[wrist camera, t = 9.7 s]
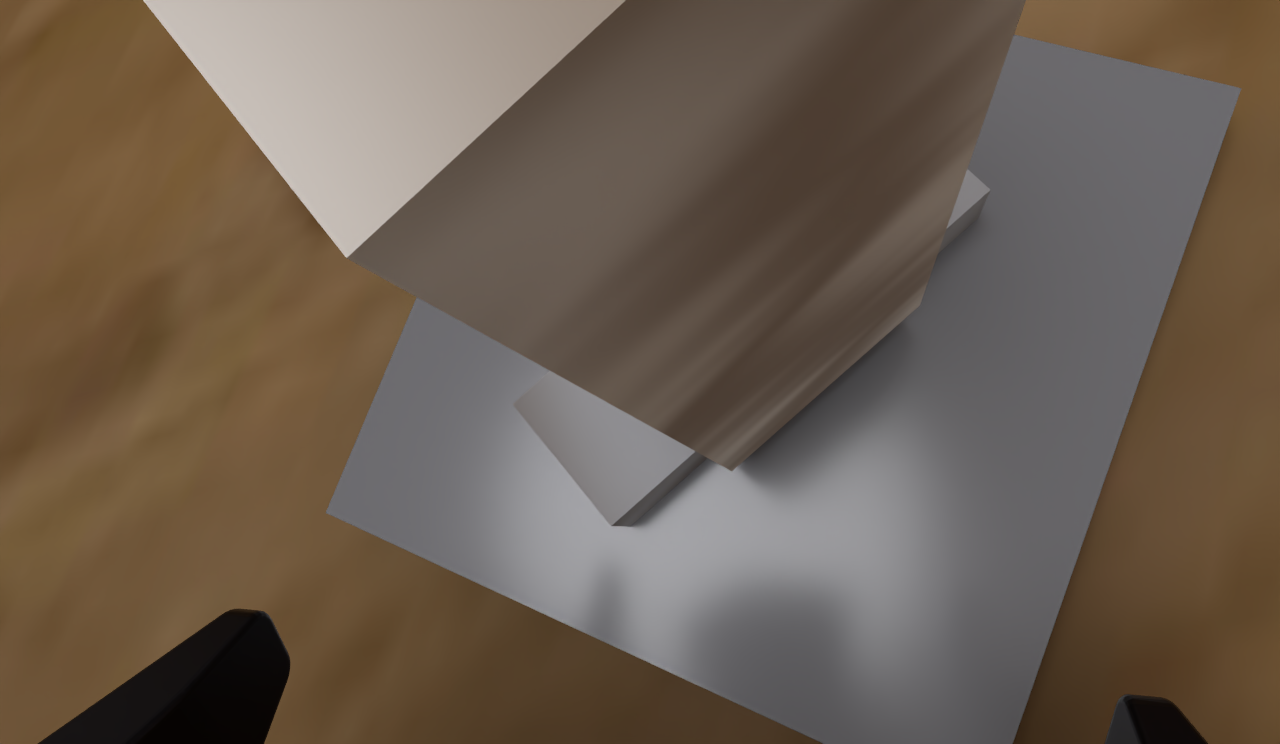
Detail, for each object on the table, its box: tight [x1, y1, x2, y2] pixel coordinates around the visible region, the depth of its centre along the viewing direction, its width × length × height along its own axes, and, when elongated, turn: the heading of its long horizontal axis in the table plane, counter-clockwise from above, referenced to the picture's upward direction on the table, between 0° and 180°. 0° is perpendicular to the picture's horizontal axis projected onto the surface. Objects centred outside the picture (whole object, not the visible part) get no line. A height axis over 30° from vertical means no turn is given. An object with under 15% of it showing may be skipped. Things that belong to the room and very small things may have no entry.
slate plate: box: [326, 35, 1241, 744], centre depth 19 cm, size 14×14×2 cm
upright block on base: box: [143, 0, 1026, 527], centre depth 11 cm, size 9×4×14 cm, turn 130°
